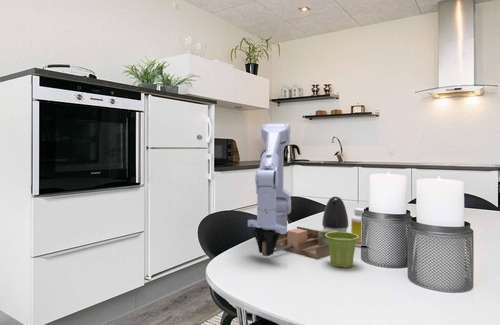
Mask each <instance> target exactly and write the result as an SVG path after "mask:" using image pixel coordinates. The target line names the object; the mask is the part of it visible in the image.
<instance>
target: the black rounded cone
mask: <svg viewBox="0 0 500 325" xmlns="http://www.w3.org/2000/svg"><path fill="white" fill-rule="evenodd" d="M324 208H325V209H324V212H323V216H322V222H321V223H322V227H323V229H331V230H337V231H338V232H347V231H348V228H349V217H348V212H347V208H346V205H345V203H344V201H343V199H342V198H341V197H339V196H332V197H330V198H329V199H328V201H327V202H326V206H325V207H324Z"/></svg>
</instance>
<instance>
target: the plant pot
mask: <svg viewBox="0 0 500 325" xmlns="http://www.w3.org/2000/svg"><path fill="white" fill-rule="evenodd" d="M325 236H326V237H327V241H328V245H329V252H330V255H329V258H330V264H331V266H334V267H335V268H339V267H341V268H345V269H346V268H350V267H352V266H353V264H354V256H355V252H356V250H355V249H356V246H355V245H356V243H357V239H358V238H359V236H358V235H356V234H353V233H351V232H347V231H346V232H329V233H326V234H325Z"/></svg>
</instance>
